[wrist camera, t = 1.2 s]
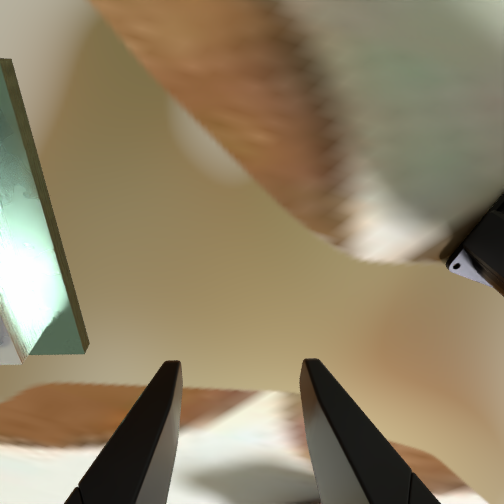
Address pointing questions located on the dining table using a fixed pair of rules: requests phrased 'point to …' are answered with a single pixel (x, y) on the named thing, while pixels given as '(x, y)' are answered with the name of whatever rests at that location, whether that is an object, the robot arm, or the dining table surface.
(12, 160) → the grey and green stand
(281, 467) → the dining table surface
